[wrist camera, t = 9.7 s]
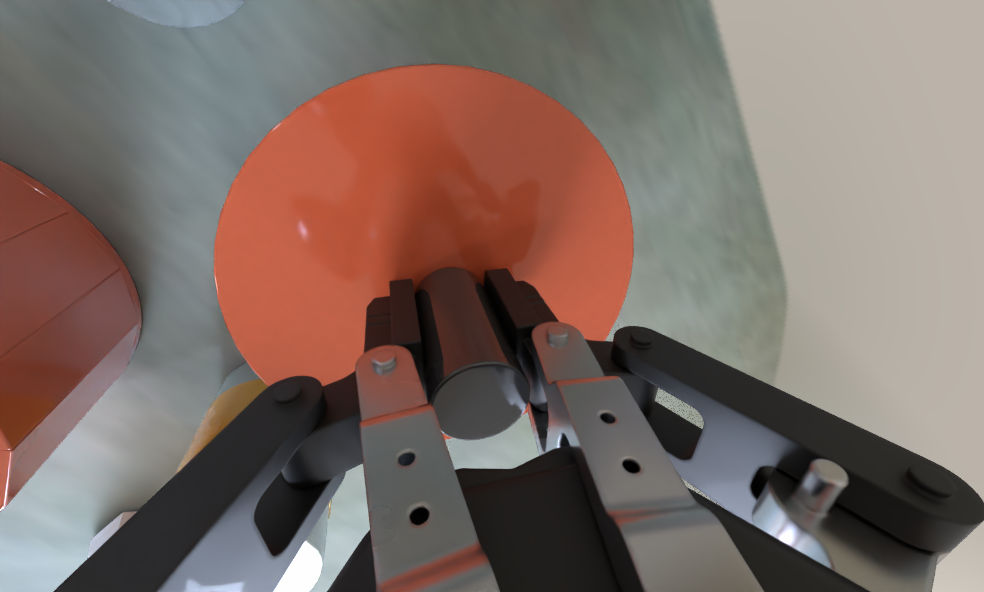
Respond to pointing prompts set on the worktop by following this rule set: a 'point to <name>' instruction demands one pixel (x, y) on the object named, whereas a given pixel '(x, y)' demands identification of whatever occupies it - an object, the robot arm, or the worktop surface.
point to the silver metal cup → (180, 11)
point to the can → (222, 411)
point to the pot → (54, 323)
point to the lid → (421, 231)
